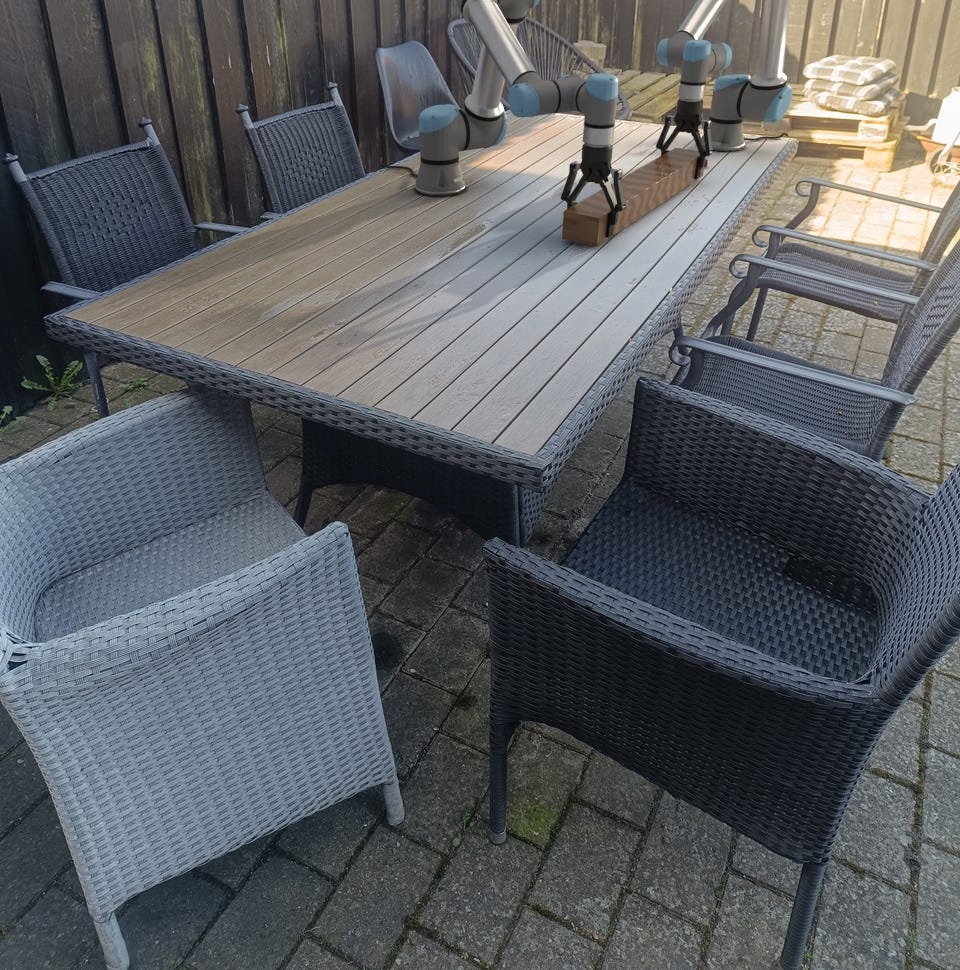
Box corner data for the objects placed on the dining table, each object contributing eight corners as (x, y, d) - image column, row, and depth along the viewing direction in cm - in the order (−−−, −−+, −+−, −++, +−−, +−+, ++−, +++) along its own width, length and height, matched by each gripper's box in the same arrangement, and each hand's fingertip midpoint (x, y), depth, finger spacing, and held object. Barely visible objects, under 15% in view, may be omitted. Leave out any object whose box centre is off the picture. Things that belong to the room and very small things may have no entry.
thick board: (597, 246, 215) (599, 218, 211) (561, 238, 219) (563, 210, 215) (702, 176, 266) (706, 152, 262) (672, 171, 270) (675, 147, 266)
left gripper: (646, 147, 205) (636, 236, 218) (564, 134, 215) (559, 220, 228) (633, 153, 200) (624, 244, 213) (550, 140, 210) (545, 228, 223)
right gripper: (732, 101, 248) (719, 178, 261) (660, 92, 258) (651, 167, 271) (723, 106, 243) (711, 184, 256) (650, 96, 253) (641, 172, 266)
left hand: (590, 232), depth 221 cm, fingers closed on thick board, 10 cm apart
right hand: (680, 175), depth 263 cm, fingers closed on thick board, 10 cm apart
